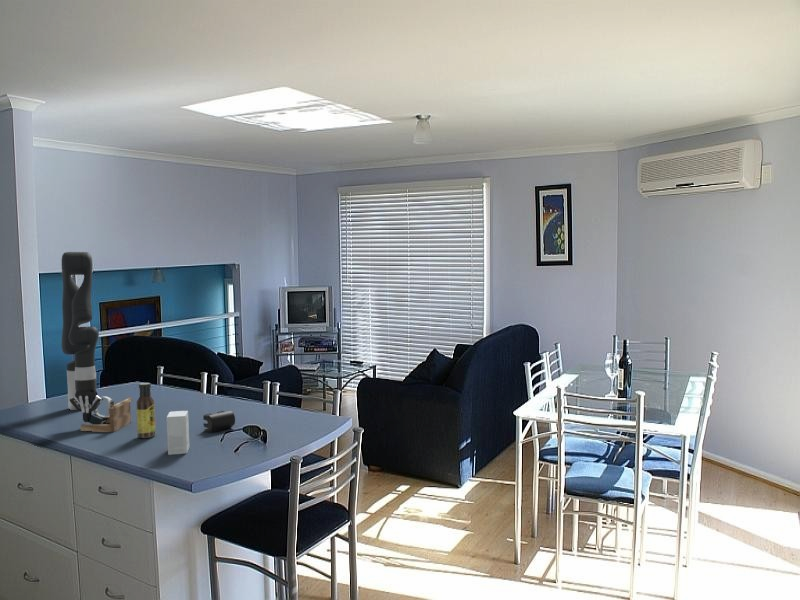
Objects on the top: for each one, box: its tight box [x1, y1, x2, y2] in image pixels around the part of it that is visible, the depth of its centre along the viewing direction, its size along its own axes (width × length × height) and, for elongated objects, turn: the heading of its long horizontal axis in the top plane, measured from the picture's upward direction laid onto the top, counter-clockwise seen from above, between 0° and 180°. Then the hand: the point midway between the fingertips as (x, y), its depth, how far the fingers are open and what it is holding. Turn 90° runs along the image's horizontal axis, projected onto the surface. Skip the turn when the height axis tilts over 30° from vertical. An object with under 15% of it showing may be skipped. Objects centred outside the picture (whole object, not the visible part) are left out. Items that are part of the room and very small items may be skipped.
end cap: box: [202, 410, 236, 433], centre depth 256 cm, size 10×7×7 cm
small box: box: [165, 410, 190, 456], centre depth 230 cm, size 8×6×13 cm
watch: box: [88, 395, 115, 424], centre depth 264 cm, size 6×8×11 cm
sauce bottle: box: [136, 382, 156, 439], centre depth 247 cm, size 6×6×20 cm
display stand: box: [80, 397, 133, 433], centre depth 262 cm, size 14×14×10 cm
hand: (87, 421), depth 262 cm, fingers closed
